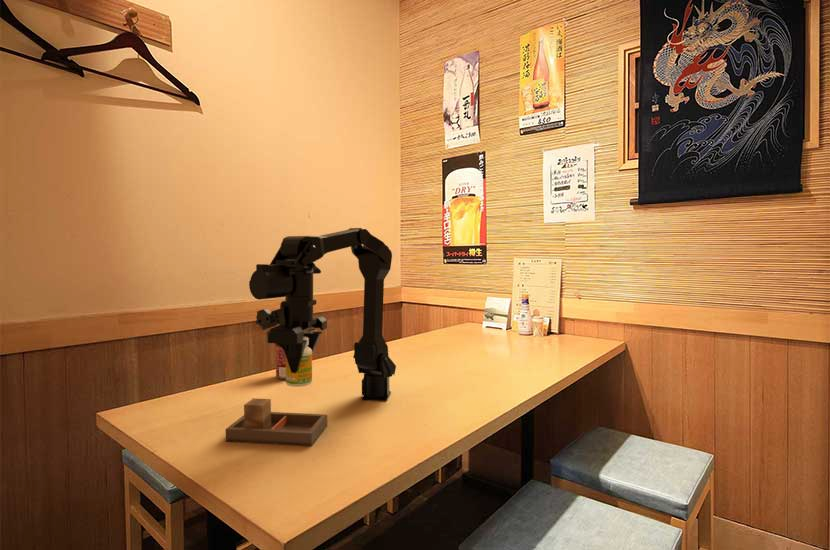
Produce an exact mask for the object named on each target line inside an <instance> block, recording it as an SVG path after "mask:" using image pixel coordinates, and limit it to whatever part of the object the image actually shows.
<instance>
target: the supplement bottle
mask: <svg viewBox="0 0 830 550" xmlns="http://www.w3.org/2000/svg"><path fill="white" fill-rule="evenodd" d="M303 340H307V343H306V346H305V349H304V352H303V355H302V358H301V362H300V365H299V368H298V371H297V372H296V373H292V372H291V370H290V367H289V364H288V361H287V358H286V380H285V384H286V386H288V387H292V388H293V387H295V388H296V387H298V388H301V387H302V388H303V387H307V386H308V385H311V384H312V382H313V353H312V350H311V348H309V347H308V345H309V344H308V343H309V338H308V337H303Z"/></svg>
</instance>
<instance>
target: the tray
mask: <svg viewBox="0 0 830 550" xmlns="http://www.w3.org/2000/svg"><path fill="white" fill-rule="evenodd" d="M327 428H328V414H325V413H322V414H320V413H304V412H302V413H301V412H283V411H282V412H280V411H279V412H278V411H271V427H270V428H269V429H256V428H245V424H244V414H243V415H242V416H241V417H239V418H238V419H237V420H235V421H234V422H232V423H231V424H230V425H229V426H228V427H227V428H225V442H227V443H228V442H229V443H245V444H246V443H247V444H248V443H249V444H264V445H282V446H283V445H284V446H300V447H301V446H302V447H313V446H314V444H315V442H316V441H317V440H318V439H319V438H320V437H321V435H322V434H323V432H324V431H325V430H326V429H327Z"/></svg>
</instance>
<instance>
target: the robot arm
mask: <svg viewBox="0 0 830 550" xmlns="http://www.w3.org/2000/svg"><path fill="white" fill-rule="evenodd" d="M346 248H347V249H348V248H350V249H351V253H352V255H353V256H355V258H356V260H358V261H357V263H358V270H359V271H360V273H361V275H362V277H363V279H364V283H363V286H364V289H363V315H362V317H363V319H362V321H363V322H362V336H361V337H360V339H359V340H358V342H357V341H356V342H354V344H353V350H354V352H353V355H352V357H353V359H354V363H355V365H356V368H357V370H358V373H359V374H363V378H362V379H361V396H362V398H361V399H362V400H363V401H379V402H380V401H381V402H382V401H384V402H385V401H388V399H390V396H391V393H392V392H391V390H390V378H391V377H393V375H394V374H396V369H397V365H396V363H394V362H393V360H392V359H391V358H390V356H389V346H388V344H387V342H386V340H385V338H384V336H383V322H384V317H383V316H384V292H385V291H384V290H385V289H384V287H385V279H386V277H387V276H388V274H389V272H390V271H391V268H392V259H393V253H392V250H391V249H390V247H389V246H388V245H387V244H386V243H385V242H384V241H382V240H381V239H379V238H378V237H376V236H374V235H373V234H371V233H370V231H369V230H368V229H367V228H364V227H353V228H352V227H349V229H345V230H341V231H335V232H331V233H326V234H325V233H324V234H320V235H316V236H315V235H289V236H285V237H284V238H282V240H281V243H280V247H279V248H278V250H277V252H276V253H275V255H274V257H273V258H272V260H271V261H270V263H269V264H268V263H267V264H266V263H265V264H262V263H257V264H256V267H255V269H256V270H255V271H254V272H252V274H251V276H250V280H249V282H248V285H249V286H248V287H249V291H250V294H251V295H252V296H253V298H254V299H256V300H270V299H280V298H284V299H285V300H282V301H281V302H280V304H279V308H278V309H275V310H272V311H271V310H270V309H268V308H263V309H260V310H257V311H256V316H255V318H256V320H255V324H256V325H258V326H259V327H260V329H261V331H265V330H267V329H269V330H268V331H267V332H266V343H267V344H274V345H275V344H277V345H279V346H280V347H281V348H283V350H284V352H285V355H286V358H287V361H288V364H289V367H290V370H291V372H292V373H296V372H297V371H298V368H299V365H300V362H301V358H302V355H303V352H304V349H305V346H306V343H307V340H303V337H308V338H309V343H308V344H309V345H308V347H309V348H311V350H312V354H313V353H314V351H315V349H316V346H317V344H318V342H319V340H320V337H321V336H322V334H323V331H324V330H326V329H328V320H327V319H326V318H325V316H323V315H321V316H320V315H314V306H316V305H317V299H314V274H315V275H317V274H321V273H322V270H321V269H320V268H319V267H317V266H316V264H315V262H317V261H319V260H320V259H322V258H323V257H324V255H326V254H327V253H331V252H334V251H339V250H343V249H346ZM317 329H320V331H317Z"/></svg>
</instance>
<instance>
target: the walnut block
mask: <svg viewBox="0 0 830 550" xmlns="http://www.w3.org/2000/svg"><path fill="white" fill-rule="evenodd" d="M271 412H272V401H271V398H253V397H252V399H250V400H249V401H247V402H246V403H245V404H243V413H244V414H243V415H244V424H245V428H256V429H269V428H270V427H271Z"/></svg>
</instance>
